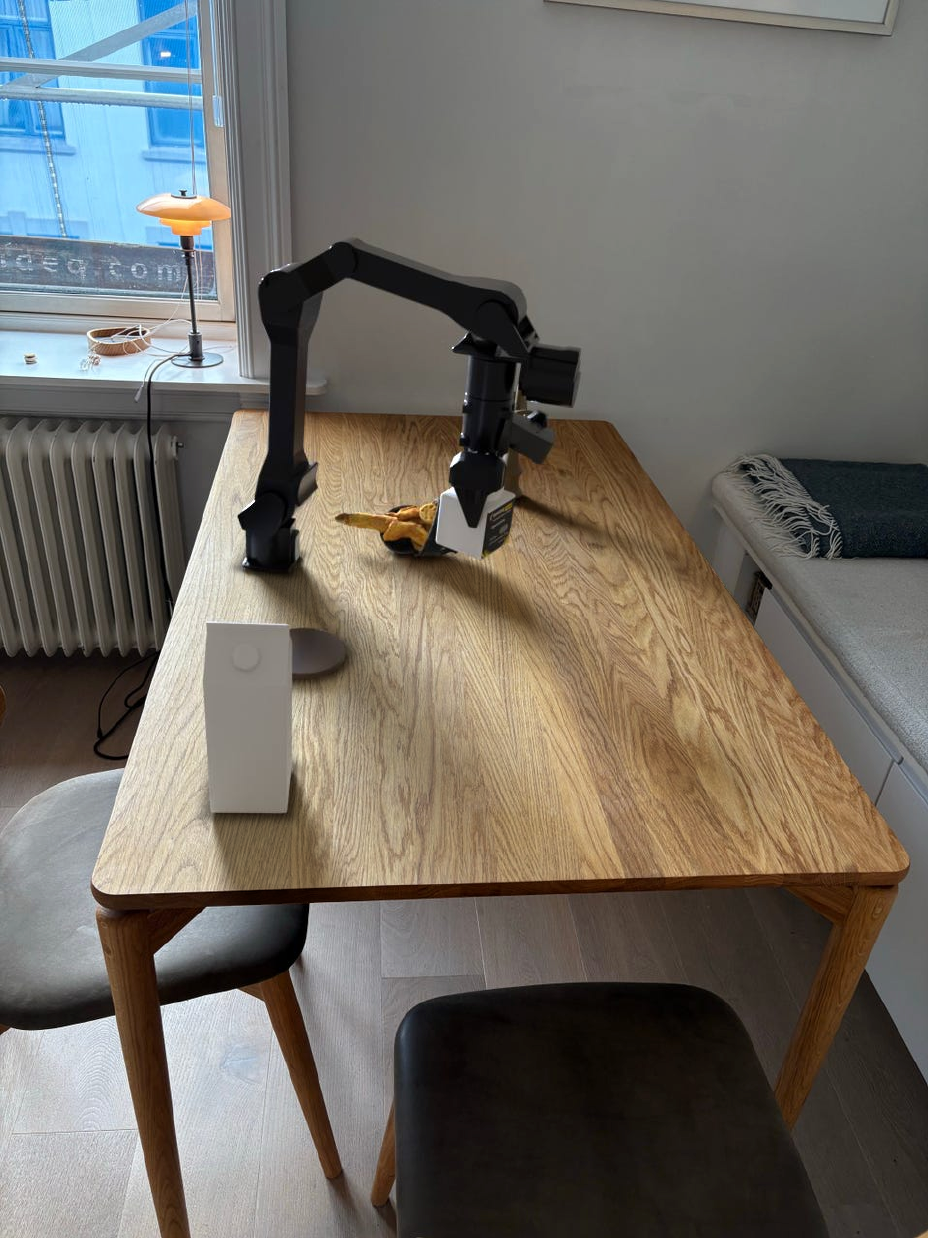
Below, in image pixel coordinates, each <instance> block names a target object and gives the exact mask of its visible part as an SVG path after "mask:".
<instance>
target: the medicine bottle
mask: <svg viewBox="0 0 928 1238" xmlns="http://www.w3.org/2000/svg"><path fill="white" fill-rule="evenodd" d="M472 453H477V452H472ZM487 455H488V453H487ZM500 458H501V460H502V461H503V462H504V463H505V470H504V477H503V483H502V487H501V489H500V490H499V491H498V492H493V493H492V494H490V495H489V496H488V497H487V500H486V502H485V505H484V508H483V511H482V514H481V517H480V520H479V523H478V526H477V528H469V527H468V525H467V522H466V519H465V517H464V514H463V511H462V508H461V505H460V503H459V500H458V498H457V495H456V493H455V490H454V488H453V487H450V489H447V490H446V491H444V492H442V493H441V494H440V498H439V500H440V508H439V517H438V526H437V535H436V543H437V544H440V545H442V546H445V547H447V548H450V549H453V550H455V551H458V552H457V553H460V554H462V555H466V556H468V557H471V558H473V559H475V560H479V561H483V560H485V559H487V558H488V557H490V555H492V554H493V553H495V552H497V551H498V550H499V549H500V548H502V547H504V546H505V545H506V544H508V543H509V542H510V535H511V528H512V521H513V515H514V508H515V502H516V499H515V494H514V493H511V492H508V491H506V490H504V483H505V476H506V470H507V464H506V462H505V461H504V460H503V457H500Z"/></svg>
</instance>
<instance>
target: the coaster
mask: <svg viewBox="0 0 928 1238" xmlns="http://www.w3.org/2000/svg"><path fill="white" fill-rule="evenodd" d="M289 635H290V637H291V640H292V680H293V679H294V680H310V679H318V678H322V677H326V676H327V675H330V674H332V673H334V672H336V671H337V670H338V669H339V668H340V667H342V665H343V663H344V662H345V661H346V660H345V659H346V646H345V644H344V642H343V641H342V640H341V639H340V638H339V637H337V635H335V634H333V633H331V632H329V631H326V630H323V629H319V628H312V627H294V628H293V627H292V628H289Z"/></svg>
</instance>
